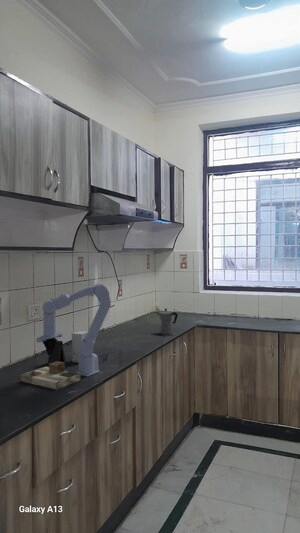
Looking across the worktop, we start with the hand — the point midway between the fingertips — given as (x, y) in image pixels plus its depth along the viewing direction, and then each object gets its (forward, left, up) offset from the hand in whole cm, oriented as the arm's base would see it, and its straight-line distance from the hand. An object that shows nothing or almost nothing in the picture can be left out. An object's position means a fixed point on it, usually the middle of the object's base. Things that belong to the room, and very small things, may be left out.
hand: (50, 354), depth 189 cm
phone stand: (-18, -14, -11) cm, 25 cm away
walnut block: (0, +5, -7) cm, 9 cm away
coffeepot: (-115, -1, -11) cm, 115 cm away
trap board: (+5, +5, -10) cm, 12 cm away
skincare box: (-28, -6, -11) cm, 31 cm away
